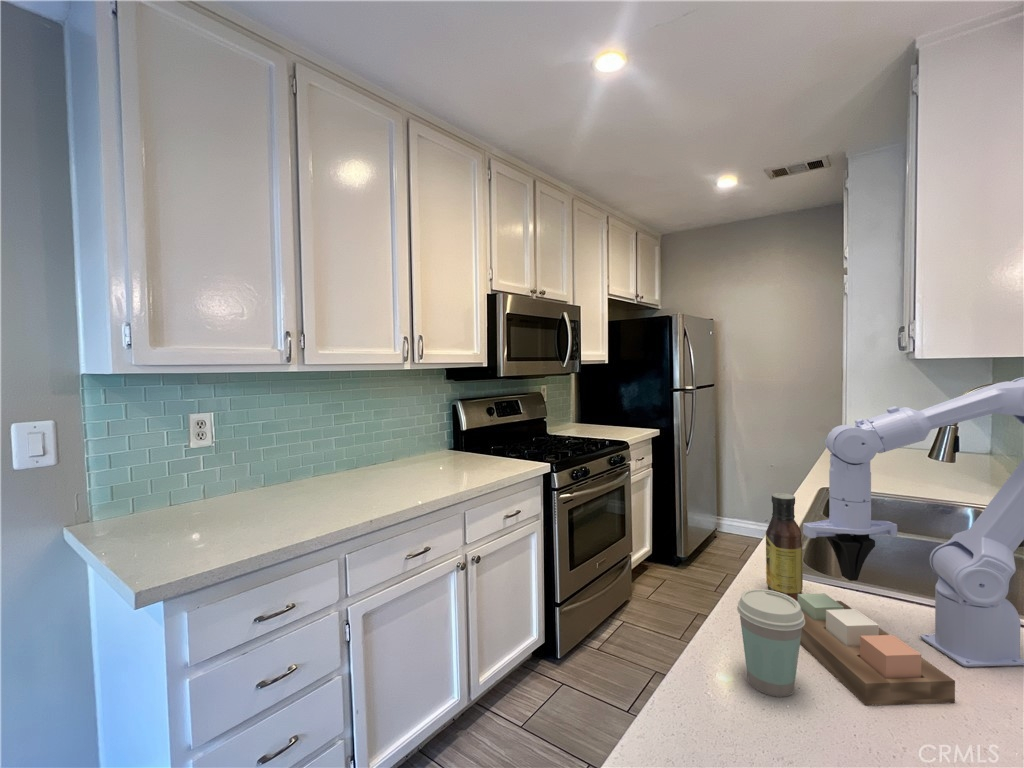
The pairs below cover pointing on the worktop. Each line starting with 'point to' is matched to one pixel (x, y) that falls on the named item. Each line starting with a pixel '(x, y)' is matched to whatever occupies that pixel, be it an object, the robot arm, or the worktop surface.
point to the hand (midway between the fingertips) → (849, 578)
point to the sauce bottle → (784, 548)
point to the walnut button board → (873, 671)
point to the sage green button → (817, 605)
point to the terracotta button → (890, 656)
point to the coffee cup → (771, 639)
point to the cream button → (849, 626)
